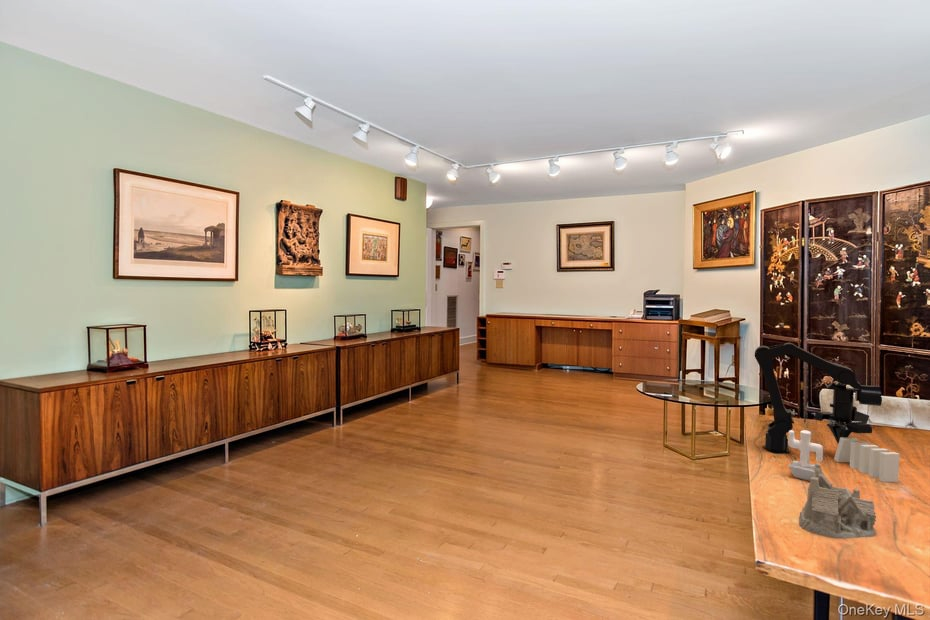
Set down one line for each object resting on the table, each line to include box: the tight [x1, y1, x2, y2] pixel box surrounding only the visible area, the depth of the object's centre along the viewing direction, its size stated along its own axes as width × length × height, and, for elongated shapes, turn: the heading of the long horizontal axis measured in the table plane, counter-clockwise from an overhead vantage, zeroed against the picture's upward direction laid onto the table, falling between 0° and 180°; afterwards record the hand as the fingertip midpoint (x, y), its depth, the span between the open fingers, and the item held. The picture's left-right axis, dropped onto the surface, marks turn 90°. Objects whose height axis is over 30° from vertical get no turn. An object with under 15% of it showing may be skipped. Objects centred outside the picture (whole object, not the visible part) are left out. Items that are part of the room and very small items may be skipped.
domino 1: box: [833, 436, 859, 463], centre depth 175 cm, size 5×2×9 cm, turn 93°
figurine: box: [787, 429, 824, 482], centre depth 161 cm, size 7×9×15 cm
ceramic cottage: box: [798, 462, 877, 540], centre depth 127 cm, size 16×16×15 cm
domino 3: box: [858, 444, 880, 474], centre depth 166 cm, size 5×2×9 cm, turn 94°
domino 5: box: [878, 451, 901, 483], centre depth 158 cm, size 5×2×9 cm, turn 94°
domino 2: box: [849, 440, 870, 470], centre depth 169 cm, size 5×2×9 cm, turn 94°
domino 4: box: [868, 448, 890, 479], centre depth 162 cm, size 5×2×9 cm, turn 94°
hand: (841, 446), depth 177 cm, fingers closed
